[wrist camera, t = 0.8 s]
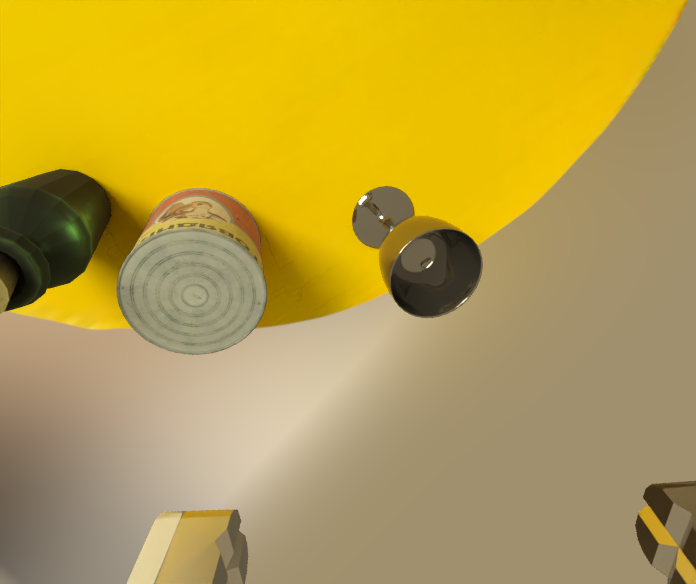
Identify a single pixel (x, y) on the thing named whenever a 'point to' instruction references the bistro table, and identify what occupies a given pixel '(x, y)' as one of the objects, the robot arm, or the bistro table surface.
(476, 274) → the wine glass
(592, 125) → the bistro table surface
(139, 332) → the canned food
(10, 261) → the potion bottle
